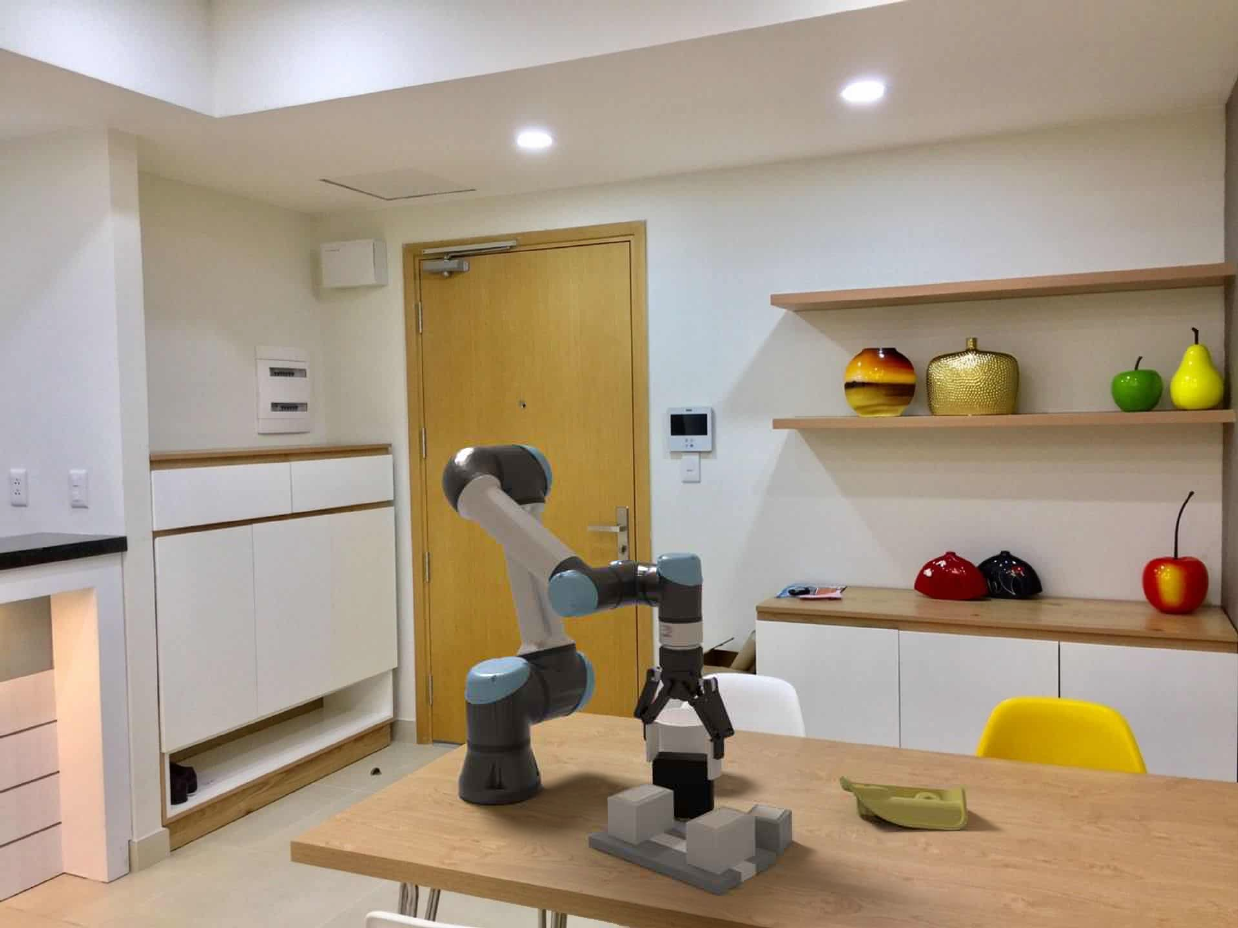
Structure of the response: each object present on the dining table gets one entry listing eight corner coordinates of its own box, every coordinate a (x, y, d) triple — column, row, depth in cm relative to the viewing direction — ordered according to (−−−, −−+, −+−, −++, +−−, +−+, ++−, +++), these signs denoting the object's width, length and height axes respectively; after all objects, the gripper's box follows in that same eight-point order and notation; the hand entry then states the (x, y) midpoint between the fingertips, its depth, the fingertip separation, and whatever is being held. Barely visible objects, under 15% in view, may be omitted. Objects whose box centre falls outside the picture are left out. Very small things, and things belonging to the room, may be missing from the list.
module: (743, 848, 158) (742, 815, 158) (756, 834, 163) (755, 802, 163) (779, 855, 155) (779, 821, 155) (792, 840, 160) (791, 808, 160)
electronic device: (711, 820, 169) (710, 761, 169) (652, 816, 171) (651, 758, 171) (714, 811, 173) (713, 753, 173) (656, 807, 175) (655, 750, 175)
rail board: (588, 845, 160) (587, 797, 159) (647, 819, 170) (646, 774, 170) (719, 894, 142) (718, 840, 142) (776, 862, 152) (775, 812, 152)
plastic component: (950, 790, 175) (966, 783, 166) (952, 835, 172) (969, 831, 163) (834, 781, 176) (844, 774, 167) (835, 826, 173) (845, 821, 164)
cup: (730, 769, 194) (729, 712, 194) (699, 789, 184) (698, 729, 183) (673, 759, 201) (672, 704, 200) (641, 777, 190) (640, 719, 190)
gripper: (612, 639, 177) (614, 758, 178) (726, 658, 160) (728, 791, 161) (641, 632, 182) (643, 748, 183) (754, 650, 165) (756, 778, 166)
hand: (683, 768), depth 172 cm, fingers open, 13 cm apart
